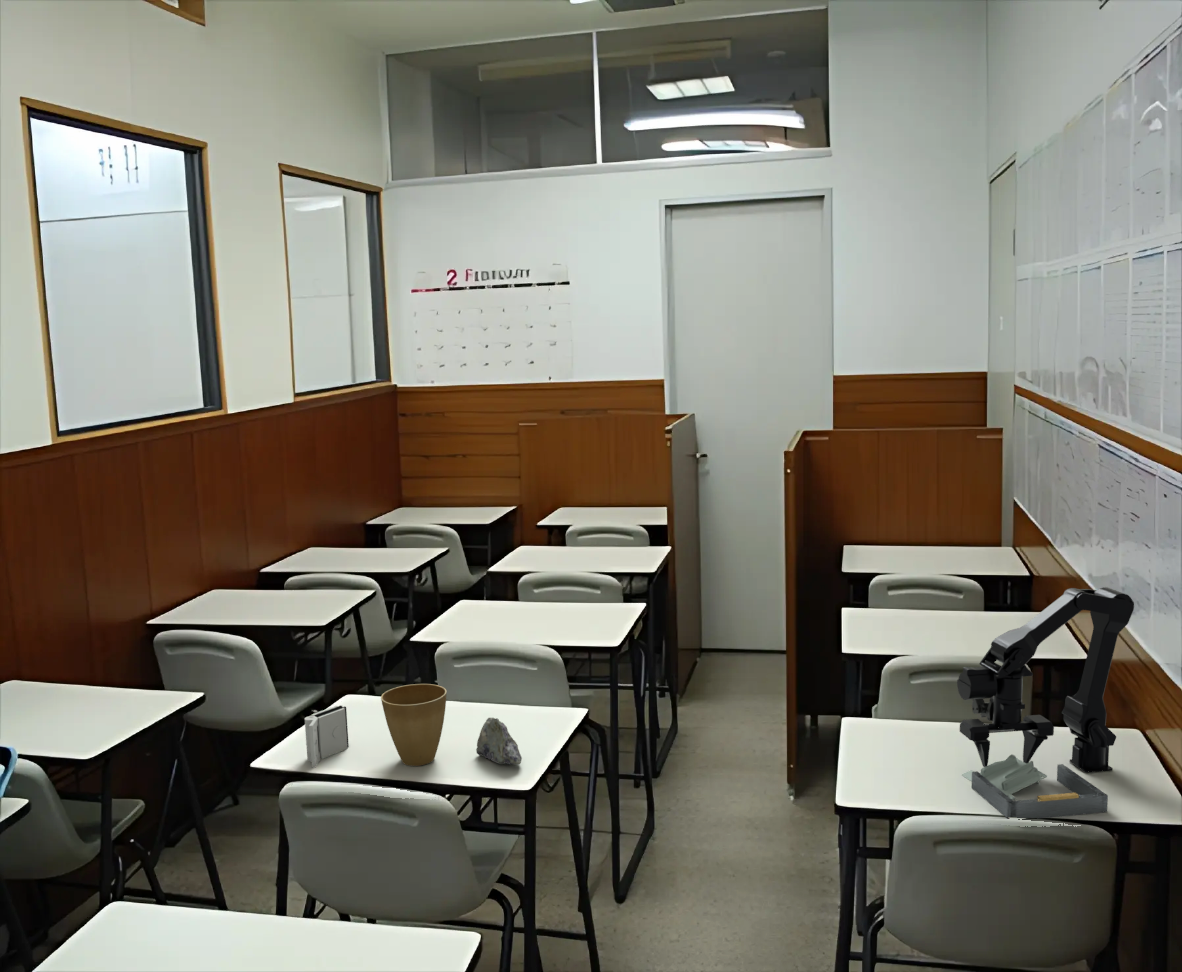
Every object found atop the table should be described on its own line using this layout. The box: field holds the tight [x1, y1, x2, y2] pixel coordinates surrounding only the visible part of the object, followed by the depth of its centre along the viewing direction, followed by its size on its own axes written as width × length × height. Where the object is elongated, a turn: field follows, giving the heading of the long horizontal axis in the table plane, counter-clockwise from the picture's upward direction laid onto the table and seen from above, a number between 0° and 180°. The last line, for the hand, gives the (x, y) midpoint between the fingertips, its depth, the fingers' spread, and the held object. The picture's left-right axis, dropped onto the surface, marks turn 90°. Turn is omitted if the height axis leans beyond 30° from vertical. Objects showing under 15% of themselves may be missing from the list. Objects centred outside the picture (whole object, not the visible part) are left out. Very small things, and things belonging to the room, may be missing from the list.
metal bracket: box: [961, 754, 1048, 801], centre depth 232 cm, size 14×6×15 cm
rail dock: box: [971, 763, 1109, 819], centre depth 224 cm, size 20×16×4 cm
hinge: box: [304, 705, 350, 768], centre depth 258 cm, size 13×8×10 cm, turn 0°
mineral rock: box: [475, 717, 523, 766], centre depth 251 cm, size 13×11×10 cm
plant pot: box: [380, 683, 448, 767], centre depth 253 cm, size 15×15×16 cm
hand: (1005, 765), depth 237 cm, fingers open, 9 cm apart
